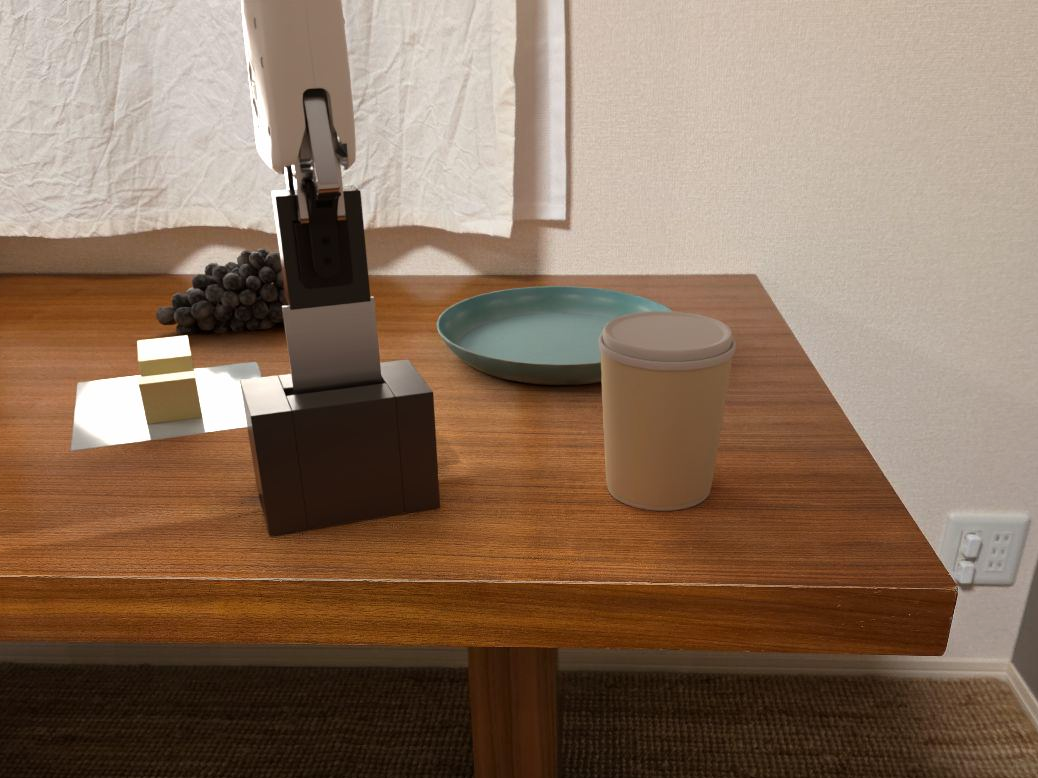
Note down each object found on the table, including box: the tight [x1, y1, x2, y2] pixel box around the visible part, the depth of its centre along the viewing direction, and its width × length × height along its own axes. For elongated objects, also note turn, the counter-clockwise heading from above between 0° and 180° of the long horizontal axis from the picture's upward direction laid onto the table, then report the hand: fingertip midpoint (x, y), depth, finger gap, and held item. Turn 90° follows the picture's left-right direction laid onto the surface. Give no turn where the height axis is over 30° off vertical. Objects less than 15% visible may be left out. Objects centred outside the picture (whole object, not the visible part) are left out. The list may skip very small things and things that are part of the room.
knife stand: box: [240, 359, 441, 537], centre depth 71 cm, size 12×7×9 cm, turn 110°
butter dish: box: [70, 361, 263, 452], centre depth 88 cm, size 16×16×1 cm
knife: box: [270, 184, 382, 395], centre depth 66 cm, size 6×2×16 cm, turn 110°
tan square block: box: [138, 371, 202, 424], centre depth 83 cm, size 4×2×4 cm, turn 110°
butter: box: [136, 335, 198, 390], centre depth 90 cm, size 4×6×4 cm
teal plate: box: [436, 285, 673, 386], centre depth 100 cm, size 24×24×3 cm
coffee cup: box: [599, 310, 737, 512], centre depth 72 cm, size 9×9×12 cm
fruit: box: [155, 247, 288, 336], centre depth 105 cm, size 9×8×15 cm
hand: (324, 278), depth 65 cm, fingers closed on knife, 2 cm apart
